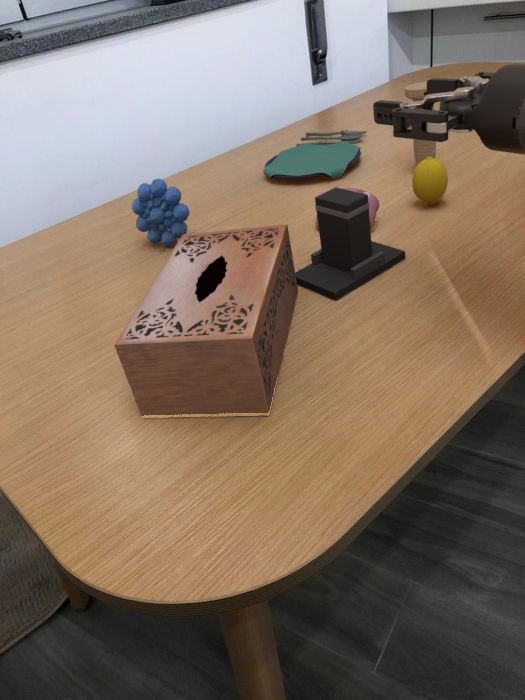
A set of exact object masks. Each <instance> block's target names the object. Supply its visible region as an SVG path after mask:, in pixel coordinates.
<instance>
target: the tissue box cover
mask: <svg viewBox="0 0 525 700" xmlns="http://www.w3.org/2000/svg"><path fill="white" fill-rule="evenodd" d="M289 232H290V231H289V227H288V224H279V225H269V226H268V225H267V226H259V227H258V226H256V227H247V228H236V229H225V230H214V231H205V232H203V231H202V232H193V233H186V234H183V235H182V236H181V238H178V241H177V242H176V243H175V245H174V247H173V249H172V250H171V252H170V254H169V255H168V256H167V259H166V261H165V262H164V264H163V265H162V267H161V269H160V271H159V272H158V274H157V275H156V277H155V278H154V280H153V282H152V283H151V285H150V287H149V288H148V290H147V291H146V293H145V294H144V296H143V298H142V299H141V301H140V303H139V304H138V305H137V307H136V309H135V311H134V312H133V314H132V315H131V317H130V318H129V320H128V322H127V324H126V325H125V327H124V328H123V330H122V332H121V333H120V335H119V336H118V338H117V340H116V341H115V343H114V344H113V345H114V348H115V351H116V354H117V356H118V359H119V362H120V364H121V367H122V369H123V372H124V374H125V377H126V379H127V383H128V385H129V388H130V390H131V393H132V395H133V398H134V401H135V404H136V406H137V408H138V412H139V415H140V417H141V416H144V415H147V416H148V415H175V414H176V415H178V414H179V415H180V414H181V415H182V414H189V415H190V414H219V413H221V414H222V413H224V414H225V413H268V412H269V410H270V406H271V402H272V397H273V393H274V388H275V385H276V381H277V377H278V374H279V375H280V373H279V370H280V371H281V368H280V365H281V366H282V364H281V362H282V363H283V359H284V355H283V353H284V354H285V351H284V349H285V350H286V346H287V342H286V341H288V338H287V337H289V332H290V328H291V324H292V319H293V315H294V311H295V306H296V302H297V298H298V297H297V296H298V294H299V289H298V288H299V287H298V284H297V282H296V275H295V272H296V270H295V265H294V256H293V252H292V251H293V250H292V244H291V239H290V233H289ZM285 345H286V346H285ZM282 358H283V359H282ZM278 378H279V377H278ZM277 382H278V381H277Z"/></svg>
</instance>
